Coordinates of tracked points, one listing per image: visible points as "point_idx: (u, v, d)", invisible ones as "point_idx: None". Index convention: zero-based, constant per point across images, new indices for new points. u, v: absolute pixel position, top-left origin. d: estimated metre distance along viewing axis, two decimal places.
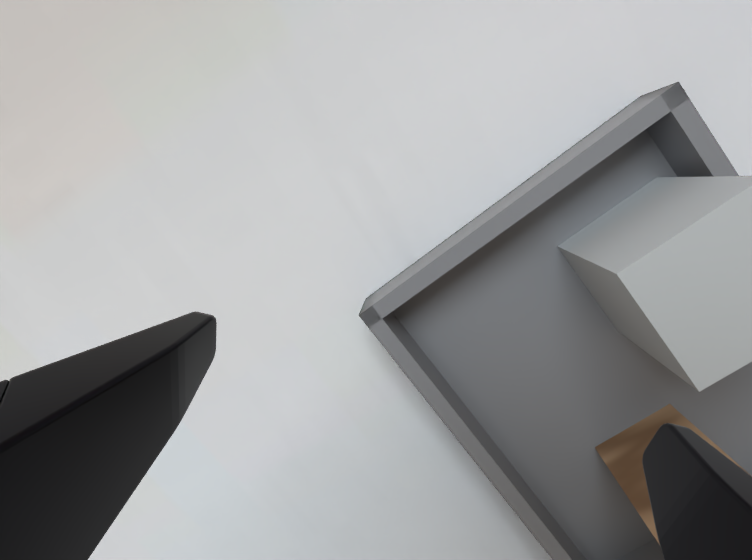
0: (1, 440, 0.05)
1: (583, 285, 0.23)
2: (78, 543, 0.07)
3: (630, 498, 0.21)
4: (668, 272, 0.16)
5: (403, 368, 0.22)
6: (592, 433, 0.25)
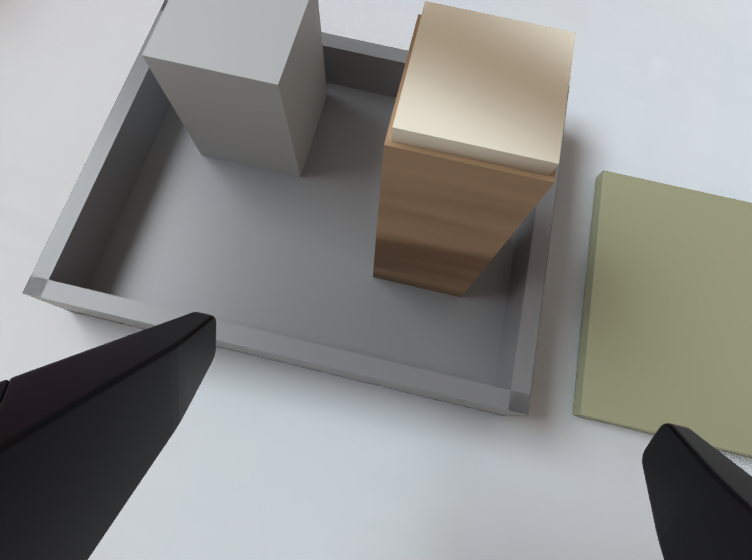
0: (1, 440, 0.05)
1: (245, 166, 0.24)
2: (78, 543, 0.07)
3: None
4: (179, 32, 0.18)
5: (99, 308, 0.19)
6: (359, 266, 0.23)
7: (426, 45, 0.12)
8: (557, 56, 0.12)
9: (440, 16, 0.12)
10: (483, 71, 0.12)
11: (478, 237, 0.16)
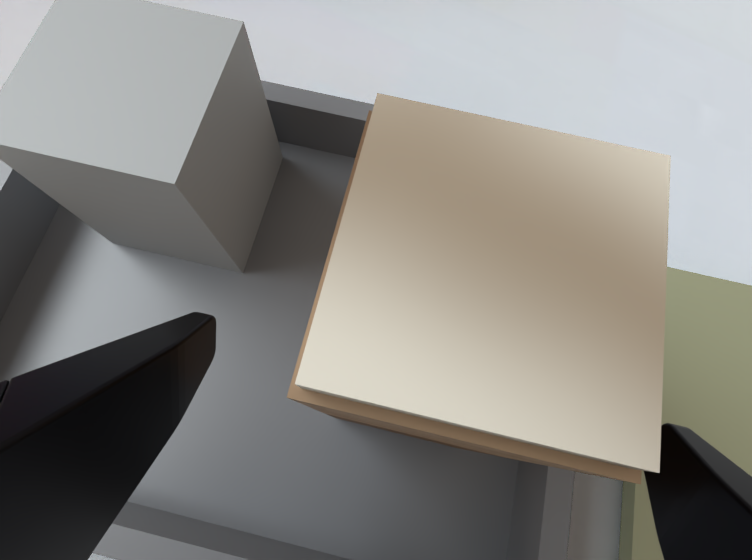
0: (1, 440, 0.05)
1: (169, 258, 0.18)
2: (78, 543, 0.07)
3: None
4: (32, 101, 0.12)
5: None
6: None
7: (376, 187, 0.06)
8: (639, 208, 0.06)
9: (406, 124, 0.06)
10: (490, 244, 0.06)
11: (481, 451, 0.10)
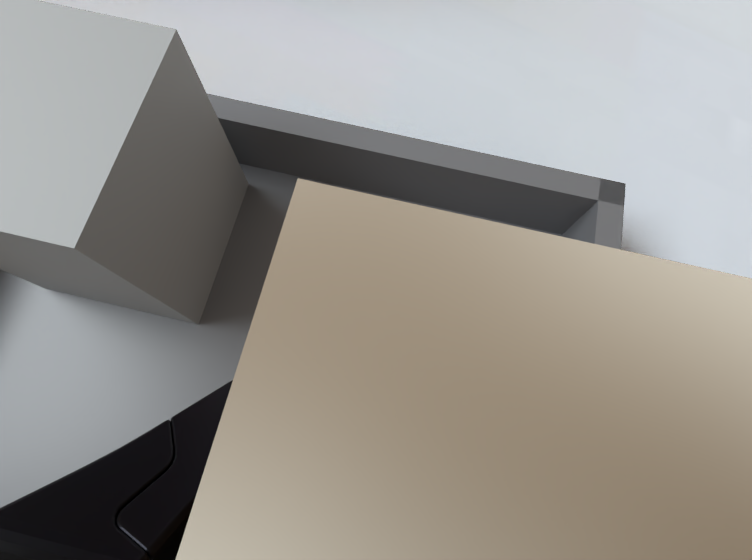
0: (195, 489, 0.05)
1: (111, 306, 0.15)
2: None
3: None
4: None
5: None
6: None
7: (285, 366, 0.03)
8: None
9: (346, 236, 0.04)
10: (499, 487, 0.03)
11: None
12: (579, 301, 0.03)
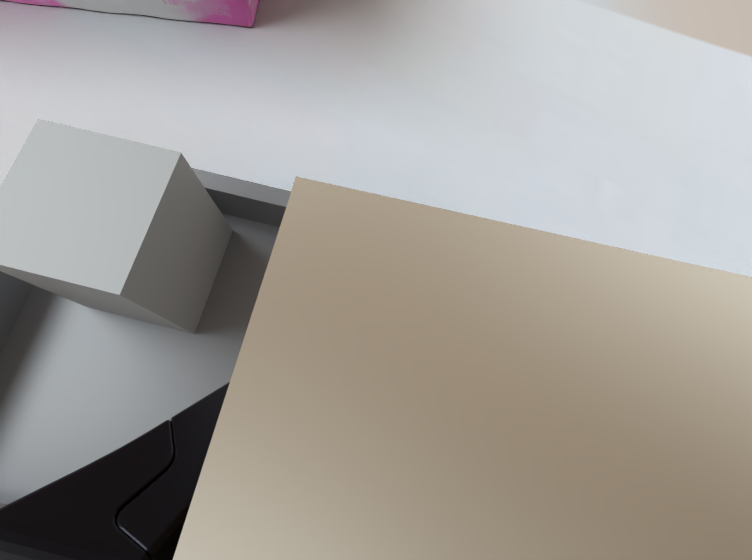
0: None
1: (132, 319, 0.22)
2: None
3: None
4: (10, 224, 0.16)
5: None
6: None
7: (283, 364, 0.03)
8: None
9: (345, 235, 0.04)
10: (496, 485, 0.03)
11: None
12: (577, 299, 0.03)
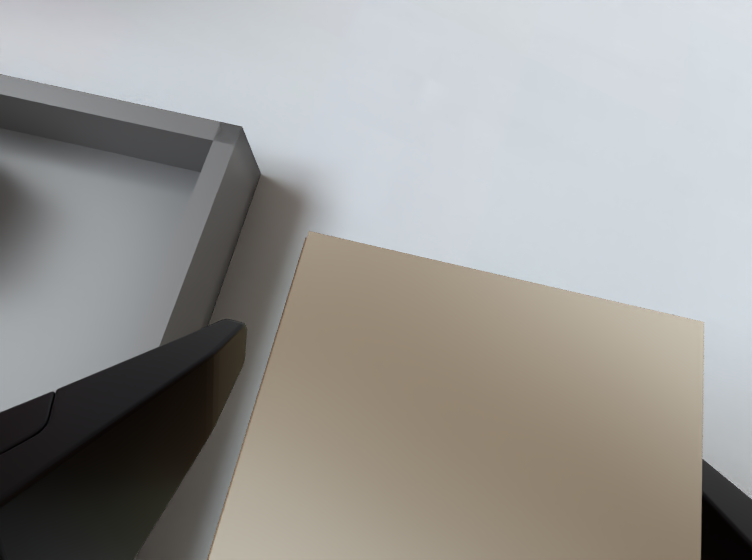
0: (57, 454, 0.05)
1: None
2: (120, 554, 0.07)
3: None
4: None
5: None
6: None
7: (300, 376, 0.04)
8: (661, 404, 0.04)
9: (346, 278, 0.05)
10: (456, 465, 0.04)
11: None
12: (521, 327, 0.05)
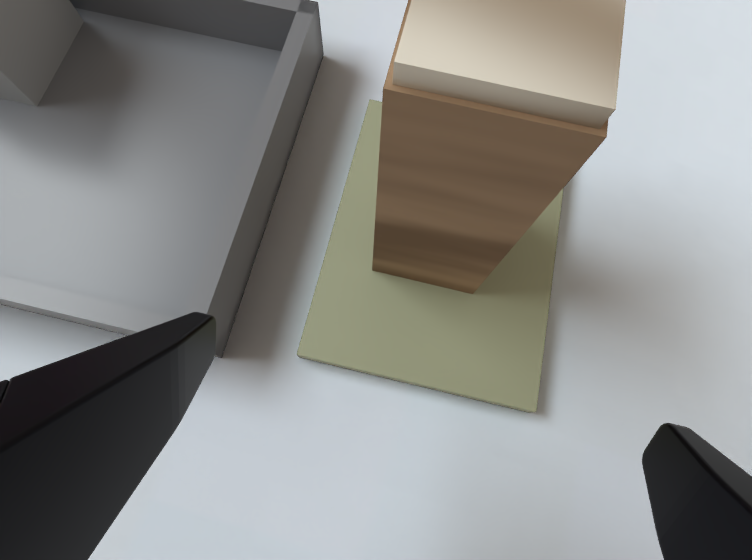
0: (1, 440, 0.05)
1: None
2: (78, 543, 0.07)
3: (374, 230, 0.16)
4: None
5: None
6: (83, 198, 0.21)
7: None
8: None
9: None
10: None
11: (499, 217, 0.13)
12: None
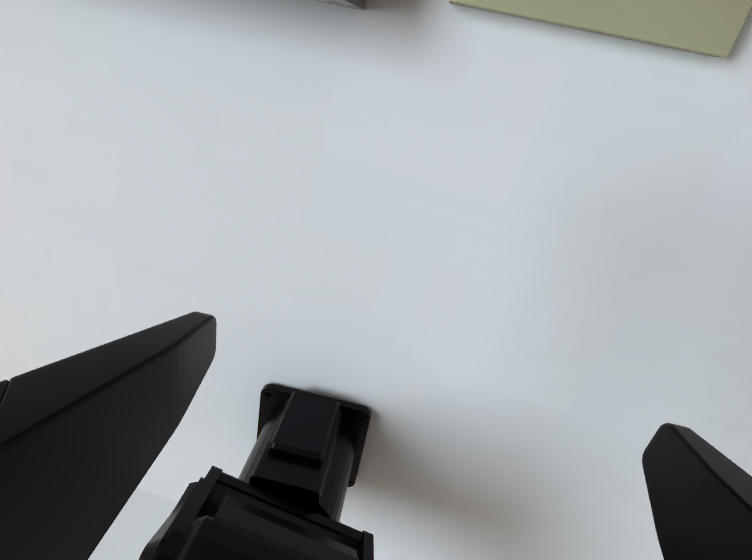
0: (1, 440, 0.05)
1: None
2: (78, 543, 0.07)
3: None
4: None
5: None
6: None
7: None
8: None
9: None
10: None
11: None
12: None
